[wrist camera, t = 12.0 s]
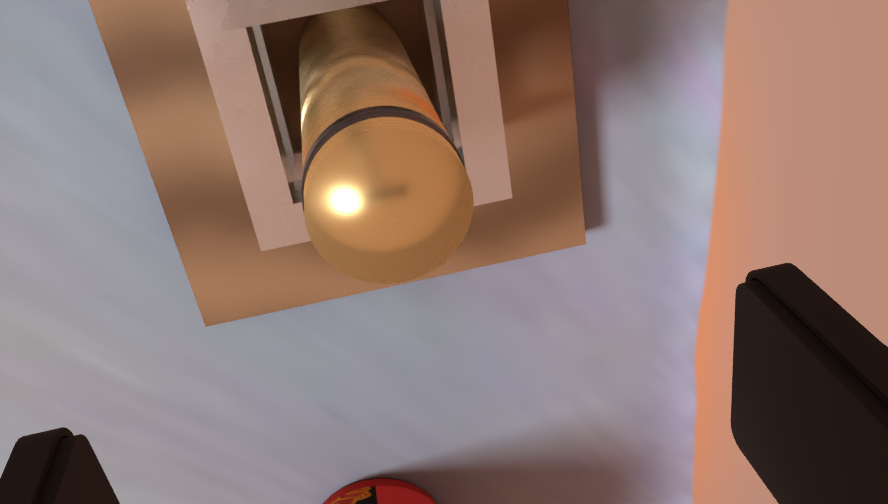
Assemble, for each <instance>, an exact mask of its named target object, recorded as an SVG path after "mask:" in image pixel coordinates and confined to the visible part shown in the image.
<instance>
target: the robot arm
mask: <svg viewBox="0 0 888 504" xmlns="http://www.w3.org/2000/svg"><path fill="white" fill-rule="evenodd" d="M734 327H735V328H734V351H733V377H732V403H731V428H732V433H733V436H734V439H735V441H736V443H737V445H738V447H739V448H740V450H741V451H742V453H743V454H744V456H745V457H746V458H747V460H748V461H749V463H750V464H751V465H752V467H753V468H754V470H755V471H756V472H757V474H758V475H759V477H760V478H761V479H762V481H763V482H764V483H765V485H766V486H767V488H768V489H769V490H770V492H771V493H772V495H773V496H774V498H775V499H776V500H777V502H778V503H779V504H888V347H887V346H886V345H884V344H883V343H882V342H880V341H879V340H878V339H877V338H876V337H875V336H874V335H873V334H871V333H870V332H869V331H868V330H867V329H866V328H865V327H864V326H862V325H861V324H860V323H859V322H858V321H857V320H856V319H854V318H853V317H852V316H851V315H850V314H849V313H848V312H847V311H846V310H844V309H843V308H842V307H841V306H840V305H839V304H838V303H837V302H835V301H834V300H833V299H832V298H831V297H830V296H829V295H828V294H826V293H825V292H824V291H823V290H822V289H821V288H820V287H819V286H817V285H816V284H815V283H814V282H813V281H812V280H811V279H810V278H808V277H807V276H806V275H805V274H804V273H803V272H802V271H801V270H799V269H798V268H797V267H796V266H794V265H793V264H791V263H784V264H780V265H775V266H771V267H766V268H762V269H758V270H753V271H751V272H749V273H748V275H747V277H746V281H745V283H742V284H739V285H738V287H737V289H736V299H735V325H734ZM0 504H120V503H119V501H118V499H117V497H116V495H115V493H114V491H113V489H112V487H111V485H110V483H109V481H108V479H107V477H106V475H105V473H104V471H103V469H102V467H101V465H100V463H99V461H98V459H97V457H96V455H95V453H94V451H93V449H92V447H91V445H90V443H89V441H88V439H87V438H86V437H85V436H84V435H81V434H80V435H75V436H74V435H73V434H72V432H71V431H70V430H69V429H67V428H63V427H62V428H58V429H54V430H49V431H45V432H40V433H36V434H32V435H27V436H23V437H21V438H19V439H18V441H17V442H16V444H15V446H14V448H13V450H12V453H11V455H10V457H9V460H8V462H7V464H6V467H5V469H4V471H3V474H2V476H1V478H0Z"/></svg>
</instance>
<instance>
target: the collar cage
mask: <svg viewBox="0 0 888 504" xmlns="http://www.w3.org/2000/svg"><path fill="white" fill-rule="evenodd" d="M185 1H186V4H187V8H188V11H189V14H190V18H191V21H192V24H193V28H194V31H195V34H196V38H197V41H198V44H199V47H200V51H201V54H202V57H203V61H204V64H205V67H206V71H207V74H208V77H209V81H210V84H211V87H212V91H213V94H214V97H215V100H216V104H217V107H218V110H219V114H220V117H221V120H222V124H223V127H224V130H225V134H226V137H227V140H228V144H229V147H230V150H231V153H232V157H233V160H234V163H235V167H236V170H237V173H238V177H239V180H240V183H241V187H242V190H243V193H244V197H245V200H246V203H247V206H248V210H249V213H250V216H251V220H252V223H253V226H254V230H255V233H256V236H257V240H258V243H259V246H260V250H261V251H265V250H270V249H275V248H280V247H284V246H289V245H294V244H298V243H303V242H308V241H311V239H310V237H309V234H308V231H307V228H306V223H305V218H304V212H303V206H302V194H301V177H302V170H303V164H302V136H301V135H300V136H295V137H293V133H292V129H291V125H290V121H289V117H288V114H287V110H286V106H285V102H284V98H283V94H282V90H281V87H280V83H279V79H278V75H277V71H276V67H275V63H274V59H273V56H272V52H271V48H270V44H269V40H268V36H267V32H266V29H265V25H264V24H267V23H272V22H277V21H282V20H288V19H293V18H298V17H303V16H309V15H314V14H319V13H324V12H329V11H335V10H340V9H345V8H350V7H356V6H361V5H366V4H371V3H376V2H382V1H387V0H185ZM418 6H419V12H420V18H421V24H422V30H423V36H424V42H425V48H426V55H427V61H428V67H429V73H430V79H431V85H432V91H433V97H434V103H435V108H434V109H435V111H436V113H437V115H438V117H439V119H440V121H441V123H442V125H443V126H444V128H445V130H446V132H447V134H448V135H449V137H450V138H451V139H452V141H453V142H454V144H455V146H456V148H457V150H458V152H459V154H460V156H461V158H462V160H463V162H464V165H465V168H466V171H467V174H468V177H469V180H470V182H471V186H472V191H473V201H474V204H473V206H478V205H483V204H487V203H492V202H497V201H501V200H506V199H511V198H512V190H511V182H510V173H509V165H508V157H507V149H506V141H505V133H504V124H503V116H502V108H501V100H500V92H499V84H498V75H497V67H496V59H495V51H494V43H493V35H492V26H491V18H490V10H489V2H488V0H418Z"/></svg>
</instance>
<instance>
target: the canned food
mask: <svg viewBox="0 0 888 504" xmlns="http://www.w3.org/2000/svg"><path fill="white" fill-rule="evenodd" d="M323 504H436V503H435V502H434V500H433V499H432V497H431V496H429V495H428V494H427V493H426V492H425V491H424V490H422V489H420V488H419V487H417V486H415V485H413V484H410V483H407V482H405V481H400V480H395V479H370V480H364V481H360V482H357V483H353V484H350V485H348V486H346V487H344V488H342V489H340V490H338V491H337V492H336V493H334V494H333V495H331V496H330V497H329V498H328V499H327V500H326V501H325V502H324V503H323Z"/></svg>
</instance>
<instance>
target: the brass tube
mask: <svg viewBox="0 0 888 504" xmlns="http://www.w3.org/2000/svg"><path fill="white" fill-rule="evenodd" d="M298 53H299V81H300V109H301V136H302V164H303V170H302V177H301V194H302V206H303V212H304V218H305V223H306V228H307V231H308V234H309V237H310V239H311V241H312V243H313V245H314V247H315V248H316V249H317V251H318V252H319V254H320V255H321V256H322V257H323V258H324V259H325V260H326V261H327V262H328V263H329V264H330V265H332V266H333V267H334V268H335V269H337V270H339V271H340V272H342V273H343V274H346V275H348V276H350V277H352V278H355V279H358V280H361V281H365V282H371V283H381V284H389V283H399V282H405V281H409V280H412V279H416V278H418V277H421V276H423V275H425V274H427V273H429V272H431V271H433V270H435V269H436V268H437V267H439V266H440V265H442V264H443V263H444V262H445V261H446V260H448V259H449V258H450V257H451V256H452V255H453V253H454V252H455V251H456V250H457V249H458V247H459V246H460V244H461V243H462V241H463V240H464V238H465V236H466V234H467V232H468V229H469V226H470V223H471V219H472V215H473V204H474V201H473V191H472V186H471V182H470V180H469V177H468V174H467V171H466V168H465V165H464V162H463V160H462V158H461V156H460V154H459V152H458V150H457V148H456V146H455V144H454V142H453V141H452V139H451V138H450V137H449V135H448V134H447V132H446V130H445V128H444V126H443V125H442V123H441V121H440V119H439V117H438V115H437V113H436V111H435V109H434V107H433V105H432V103H431V101H430V99H429V97H428V95H427V93H426V91H425V89H424V87H423V85H422V83H421V81H420V79H419V77H418V75H417V73H416V71H415V69H414V67H413V65H412V63H411V61H410V59H409V57H408V55H407V53H406V51H405V49H404V47H403V45H402V43H401V41H400V39H399V37H398V35H397V33H396V31H395V29H394V28H393V26H392V24H391V23H390V21H389V20H388V18H387V17H386V16H385V15H384V14H383V13H381V12H380V11H379V10H378V9H376V8H374V7H373V6H371V5H369V4H366V5H361V6H356V7H350V8H345V9H340V10H335V11H329V12H324V13H319V14H314V15H312V16H311V17H310V18H309V20H308V21H307V23H306V24H305V26H304V28H303V30H302V33H301V35H300V39H299V47H298Z"/></svg>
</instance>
